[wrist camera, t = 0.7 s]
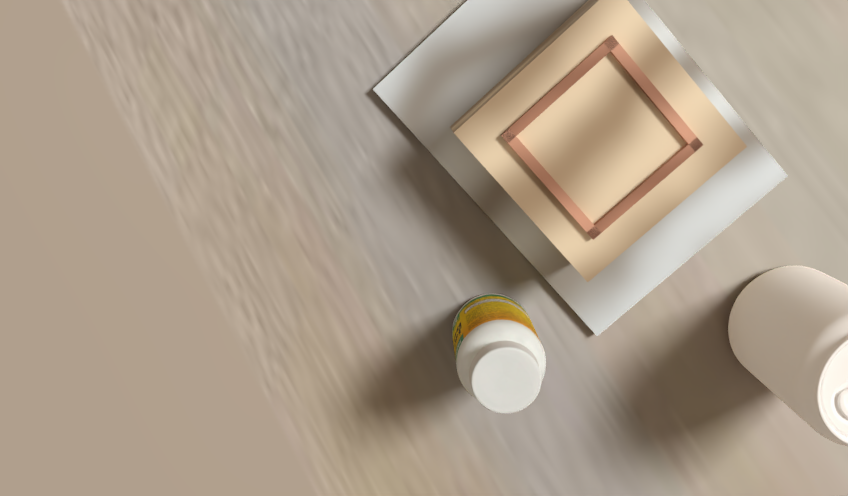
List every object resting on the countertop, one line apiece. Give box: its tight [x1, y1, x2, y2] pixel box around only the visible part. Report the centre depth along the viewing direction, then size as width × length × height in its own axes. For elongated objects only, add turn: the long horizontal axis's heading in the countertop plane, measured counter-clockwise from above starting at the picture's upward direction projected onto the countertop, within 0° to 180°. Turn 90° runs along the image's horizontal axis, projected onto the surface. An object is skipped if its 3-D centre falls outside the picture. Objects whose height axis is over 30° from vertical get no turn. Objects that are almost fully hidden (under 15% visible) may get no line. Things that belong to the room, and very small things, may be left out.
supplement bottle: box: [452, 293, 546, 414], centre depth 50 cm, size 5×5×10 cm
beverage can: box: [728, 266, 848, 446], centre depth 49 cm, size 8×8×12 cm
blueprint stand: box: [373, 0, 788, 336], centre depth 49 cm, size 22×16×6 cm
